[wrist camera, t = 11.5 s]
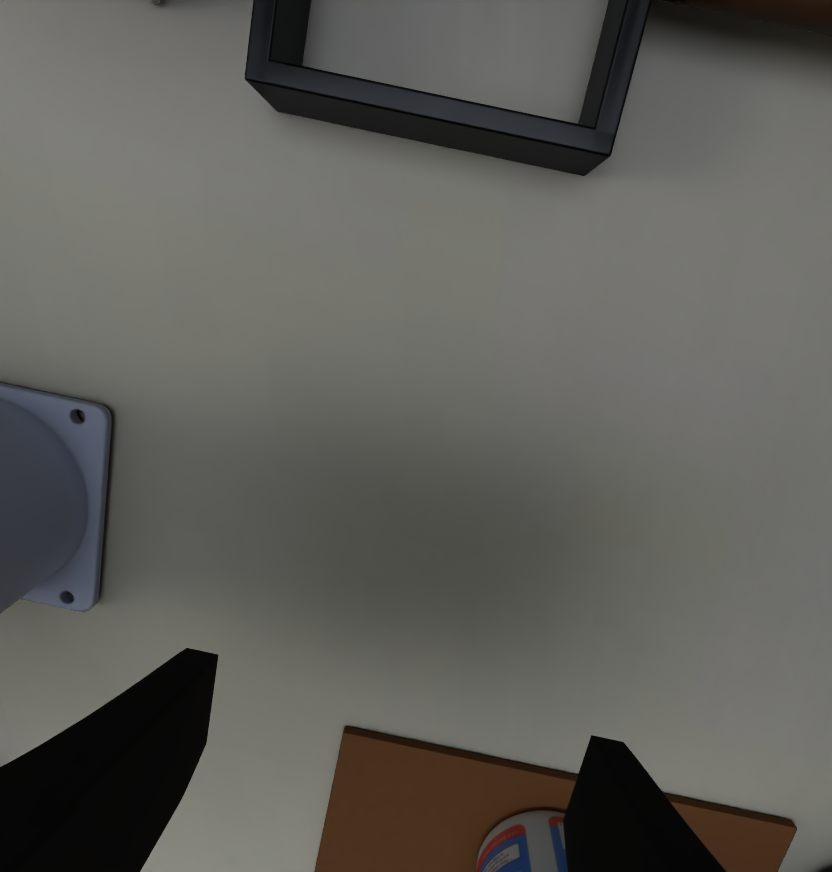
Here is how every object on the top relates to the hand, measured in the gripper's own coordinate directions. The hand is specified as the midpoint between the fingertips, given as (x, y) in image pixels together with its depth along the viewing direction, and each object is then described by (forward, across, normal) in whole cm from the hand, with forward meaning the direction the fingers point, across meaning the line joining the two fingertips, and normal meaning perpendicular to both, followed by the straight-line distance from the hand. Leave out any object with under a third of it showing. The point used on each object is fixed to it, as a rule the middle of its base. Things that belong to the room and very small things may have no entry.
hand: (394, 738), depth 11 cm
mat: (+10, -8, +13) cm, 18 cm away
